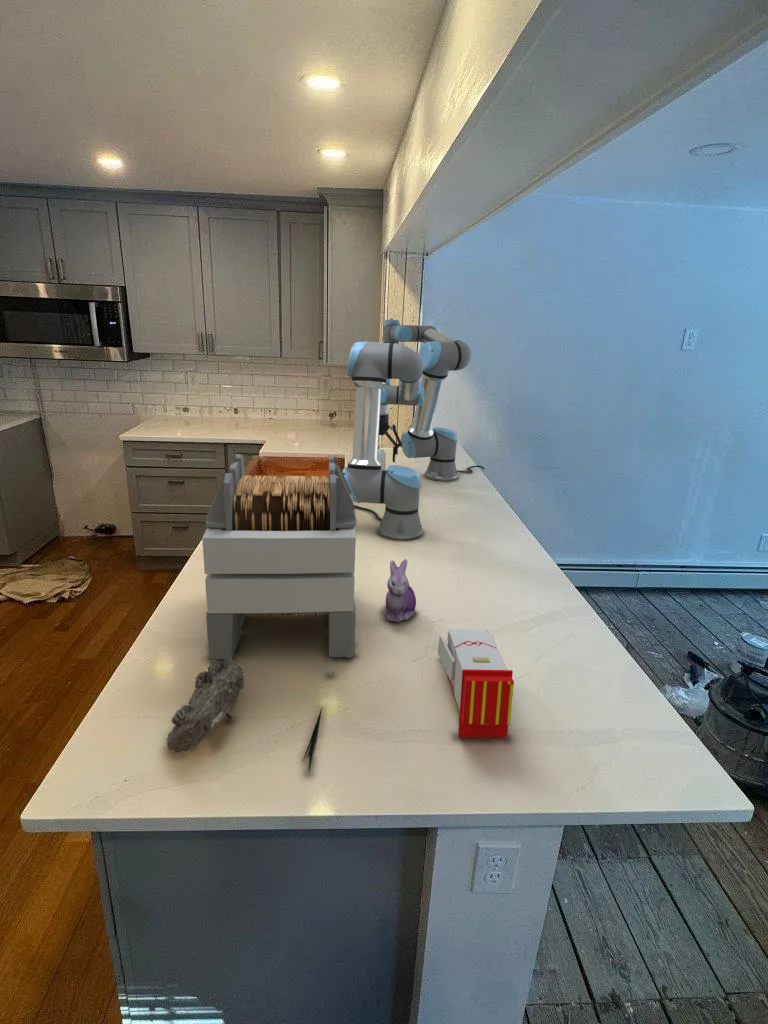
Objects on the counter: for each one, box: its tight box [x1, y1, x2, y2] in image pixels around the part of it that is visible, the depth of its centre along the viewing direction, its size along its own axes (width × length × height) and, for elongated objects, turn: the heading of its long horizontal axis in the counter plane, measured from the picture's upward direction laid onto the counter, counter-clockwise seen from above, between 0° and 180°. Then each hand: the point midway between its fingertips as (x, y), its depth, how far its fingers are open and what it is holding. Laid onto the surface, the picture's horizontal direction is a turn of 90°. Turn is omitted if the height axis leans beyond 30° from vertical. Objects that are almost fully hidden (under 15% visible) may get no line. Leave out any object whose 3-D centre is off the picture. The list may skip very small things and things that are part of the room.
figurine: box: [384, 558, 417, 623], centre depth 145 cm, size 9×10×15 cm
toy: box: [437, 628, 515, 738], centre depth 117 cm, size 12×13×30 cm
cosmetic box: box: [377, 449, 387, 470], centre depth 251 cm, size 8×7×16 cm
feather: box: [301, 673, 332, 771], centre depth 108 cm, size 2×28×2 cm
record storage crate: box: [201, 453, 357, 661], centre depth 135 cm, size 34×33×41 cm
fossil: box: [166, 658, 245, 754], centre depth 106 cm, size 22×10×15 cm
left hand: (378, 461), depth 250 cm, fingers open, 13 cm apart
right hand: (388, 396), depth 284 cm, fingers open, 13 cm apart
